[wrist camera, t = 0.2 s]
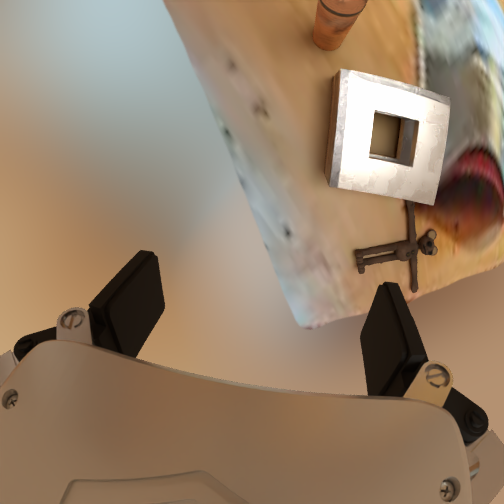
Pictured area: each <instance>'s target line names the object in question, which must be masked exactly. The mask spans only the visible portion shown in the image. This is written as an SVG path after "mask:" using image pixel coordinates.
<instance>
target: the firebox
mask: <svg viewBox="0 0 504 504" xmlns="http://www.w3.org/2000/svg"><path fill="white" fill-rule="evenodd" d="M450 101H451V99H450V98H448V97H445V96H443V95H440V94H437V93H434V92H431V91H429V90H426V89H423V88H419V87H416V86H413V85H410V84H406V83H403V82H399V81H396V80H392V79H388V78H384V77H380V76H376V75H371V74H367V73H362V72H357V71H352V70H346V69H340V70H339V71H338V72H337V73H336V74H335V76H334V77H333V83H332V97H331V110H330V121H329V132H328V142H327V151H326V160H325V168H324V174H325V176H326V179H327V182H328V184H329V187H336V188H342V189H349V190H355V191H361V192H367V193H373V194H379V195H384V196H390V197H395V198H400V199H405V200H410V201H415V202H420V203H424V204H429V205H434V201H435V197H436V192H437V188H438V183H439V179H440V174H441V169H442V163H443V158H444V152H445V145H446V139H447V131H448V123H449V113H450ZM374 112H376V113H381V114H385V115H389V116H393V117H397V118H401V127H400V135H399V142H398V149H397V156H396V158H393V157H389V156H384V155H379V154H374V153H369V150H370V143H371V135H372V126H373V116H374Z"/></svg>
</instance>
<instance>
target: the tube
mask: <svg viewBox="0 0 504 504" xmlns="http://www.w3.org/2000/svg"><path fill="white" fill-rule="evenodd" d="M367 1H368V0H318V5H317V12H316V19H315V25H314V32H313V40H314V43H315V44H316V45H317V46H318V47H319V48H321V49H323V50H326V51H332V50H335V49H337V48H339V47H340V45H341V43H342V42H343V40H344V39H345V37H346V35H347V34H348V32H349V30H350V29H351V27H352V25H353V24H354V22H355V21H356V19H357V17H358V16H359V14H360V13H361V12H362V10H363V9H364V7H365V5H366V3H367Z"/></svg>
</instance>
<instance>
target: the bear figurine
mask: <svg viewBox="0 0 504 504" xmlns="http://www.w3.org/2000/svg"><path fill="white" fill-rule="evenodd" d="M406 204H407V208H408V216H409V241H403V242H398V243H396V244H390V245H385V246H378V247H370V248H368V249H358V250H356V259H357V266H358V272H359V274H363V273H364V272H365V268H364V267H365V265H371V264H375V263H383V262H387V261H393V260H400V261H407V260H408V259H410V261H411V271H412V287H411V290H412V292H413V293H415V292H417V289H418V282H417V253H418V248H420V249H421V252H422V253H423V254H425V255H435V254H436V253H437V251H438V249H437V247H436V246H434V242H433V241H434V239H435V238H436V235H437V234H436V231H434V230H431V231H429V232H428V236H424V237H422V238H421V240H420V242H419V244H417V241H416V236H417V234H416V231H415V215H414V207H415V205H414V204H413V201H410V200H406ZM393 250H395V254H391V255H385V256H379V257H373V258H367V259H363V256H365V255H370V254H378V253H381V252H387V251H393Z"/></svg>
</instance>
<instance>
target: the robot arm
mask: <svg viewBox="0 0 504 504" xmlns="http://www.w3.org/2000/svg"><path fill="white" fill-rule="evenodd" d="M89 307H90V308H89V309H88V310H87V311H86V310H85V309H83V308H79V307H75V308H71V309H68V310H66V311H64V312H63V313H62V314H61V315H60V316H59V318H58V319H57V326H56V327H53V328H49V329H46V330H43V331H40V332H36V333H33V334H29V335H26V336H24V337H22V338H21V339H20V340H18V342H17V343H16V344H15V346H14V352H11V350H9V351H8V352H6V353H4V354H3V355H1V356H0V504H489V503H490V502H491V501H492V500H493V499H494V497H495V496H496V495H497V494H498V492H499V491H500V490H501V488H502V487H503V486H504V445H503V443H502V442H501V441H500V439H499V438H498V437H497V435H496V434H495V433H494V431H493V430H491V431H489V430H488V429H487V428H488V417H487V415H486V413H485V411H484V410H483V409H482V408H480V407H479V406H478V405H476V404H475V403H473V402H472V401H471V400H469V399H468V398H467V397H465V396H464V395H463V394H461V393H460V392H458V391H457V390H456V389H454V388H453V387H452V385H453V375H452V373H451V371H450V369H449V368H448V367H447V366H446V365H445V364H443V363H441V362H438V361H429V360H428V357H427V354H426V351H425V349H424V346H423V343H422V340H421V337H420V335H419V332H418V329H417V327H416V324H415V321H414V319H413V317H412V316H411V313H410V311H409V309H408V306H407V304H406V301H405V299H404V296H403V294H402V292H401V289H400V287H399V285H398V283H393V282H384V283H383V285H379V286H378V289H377V292H376V295H375V297H374V300H373V303H372V306H371V308H370V311H369V314H368V316H367V319H366V321H365V324H364V326H363V329H362V331H361V335H360V341H361V348H362V354H363V361H364V368H365V375H366V383H367V391H368V396H364V395H345V394H328V393H315V392H304V391H295V390H286V389H278V388H270V387H263V386H257V385H250V384H244V383H238V382H233V381H227V380H221V379H216V378H212V377H207V376H203V375H198V374H194V373H189V372H185V371H181V370H177V369H173V368H169V367H165V366H161V365H158V364H154V363H151V362H147V361H144V360H140V359H137V358H136V356H137V355H138V353H139V351H140V350H141V348H142V346H143V345H144V343H145V341H146V340H147V338H148V336H149V334H150V333H151V331H152V330H153V328H154V326H155V325H156V323H157V321H158V320H159V318H160V316H161V315H162V313H163V311H164V309H165V302H164V296H163V290H162V283H161V277H160V270H159V263H158V257H157V256H156V255H155V254H154V252H151V251H144V250H140V251H139V252H138V253H137V254H136V255H135V256H134V257H133V258H132V259H131V260H130V261H129V262H128V263H127V264H126V265H125V266H124V267H123V268H122V269H121V270H120V271H119V273H117V274H116V276H115V277H114V278H113V279H112V280H111V281H110V282H109V283H108V284H107V285H106V286H105V287H104V289H102V291H101V292H100V293H99V294H98V295H97V296H96V297H95V298H94V300H93V301H92V302H91V303H90V304H89Z"/></svg>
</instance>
